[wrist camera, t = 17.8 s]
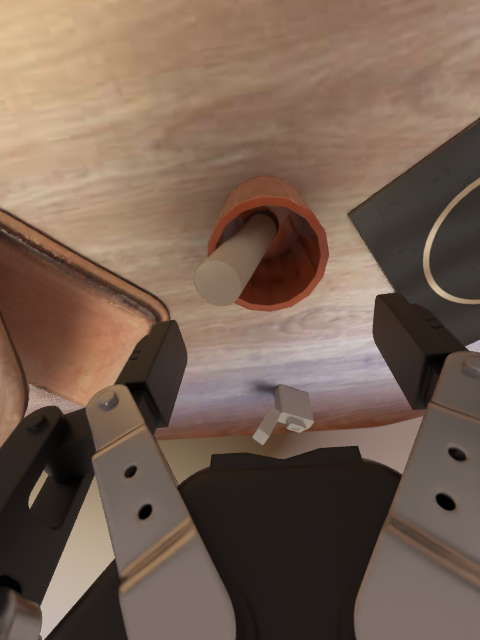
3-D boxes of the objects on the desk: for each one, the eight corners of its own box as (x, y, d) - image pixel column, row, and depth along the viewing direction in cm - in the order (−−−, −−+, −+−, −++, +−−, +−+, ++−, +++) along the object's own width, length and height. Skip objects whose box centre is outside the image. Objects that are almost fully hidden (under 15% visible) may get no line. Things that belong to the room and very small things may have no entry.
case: (-34, 184, 25) (-378, 245, 11) (180, 308, 31) (122, 445, 17) (-55, 337, 34) (-254, 469, 21) (112, 409, 40) (40, 548, 27)
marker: (243, 222, 25) (184, 277, 15) (267, 203, 24) (218, 250, 14) (261, 246, 26) (215, 313, 16) (285, 229, 24) (251, 291, 15)
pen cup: (204, 216, 25) (183, 251, 18) (272, 154, 22) (281, 165, 15) (256, 276, 28) (256, 329, 21) (322, 228, 25) (350, 268, 18)
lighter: (308, 393, 37) (320, 451, 30) (302, 401, 38) (312, 459, 31) (257, 377, 36) (258, 433, 29) (252, 386, 37) (251, 443, 30)
